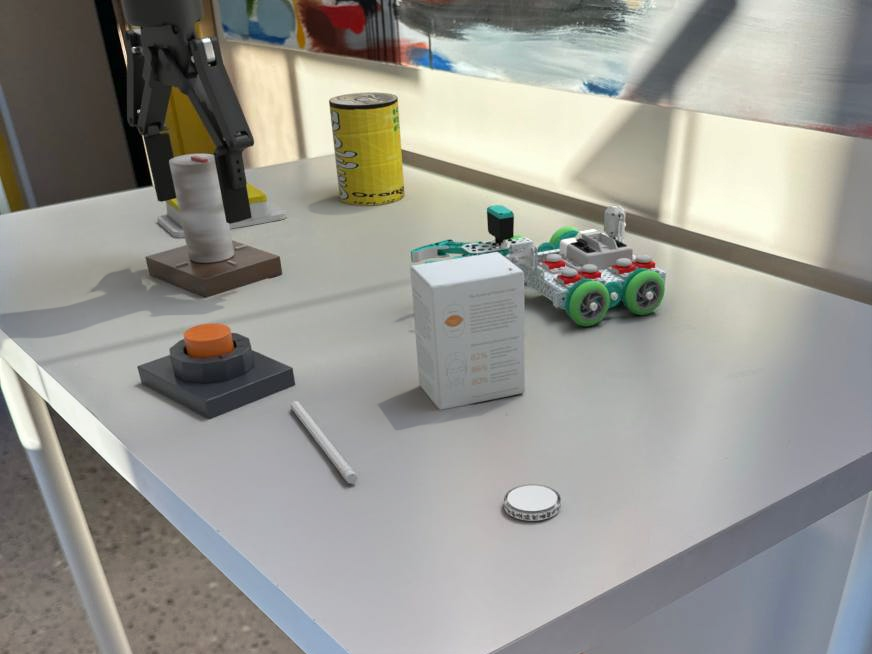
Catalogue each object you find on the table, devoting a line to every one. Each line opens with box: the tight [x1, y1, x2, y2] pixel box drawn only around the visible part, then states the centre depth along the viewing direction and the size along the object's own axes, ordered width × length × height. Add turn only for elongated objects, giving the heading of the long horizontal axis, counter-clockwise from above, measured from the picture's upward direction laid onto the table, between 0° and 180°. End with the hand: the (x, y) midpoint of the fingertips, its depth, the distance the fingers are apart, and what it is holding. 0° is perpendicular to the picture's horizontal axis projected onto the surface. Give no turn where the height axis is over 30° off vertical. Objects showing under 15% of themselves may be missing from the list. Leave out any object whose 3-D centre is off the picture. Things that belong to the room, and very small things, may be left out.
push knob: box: [183, 322, 234, 358], centre depth 84 cm, size 4×4×2 cm
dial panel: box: [144, 239, 283, 299], centre depth 109 cm, size 12×10×2 cm
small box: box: [409, 252, 526, 411], centre depth 81 cm, size 8×6×10 cm
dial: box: [169, 153, 234, 263], centre depth 106 cm, size 5×5×10 cm
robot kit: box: [410, 204, 667, 327], centre depth 98 cm, size 19×25×9 cm
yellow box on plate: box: [156, 181, 287, 239], centre depth 126 cm, size 9×4×15 cm
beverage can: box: [328, 91, 405, 206], centre depth 130 cm, size 9×9×12 cm
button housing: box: [136, 332, 296, 420], centre depth 85 cm, size 11×9×4 cm
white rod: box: [290, 400, 358, 485], centre depth 77 cm, size 1×1×15 cm
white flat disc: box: [503, 484, 562, 522], centre depth 68 cm, size 4×4×1 cm
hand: (203, 209), depth 106 cm, fingers open, 13 cm apart
